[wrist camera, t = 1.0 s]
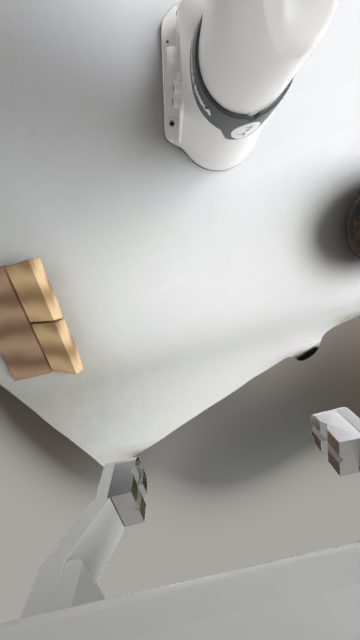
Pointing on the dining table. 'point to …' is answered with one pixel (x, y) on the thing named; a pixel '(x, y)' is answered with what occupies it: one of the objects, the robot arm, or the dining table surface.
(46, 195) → the dining table surface
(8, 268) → the plank
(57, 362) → the plank
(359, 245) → the dark brown round bottle
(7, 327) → the base board
